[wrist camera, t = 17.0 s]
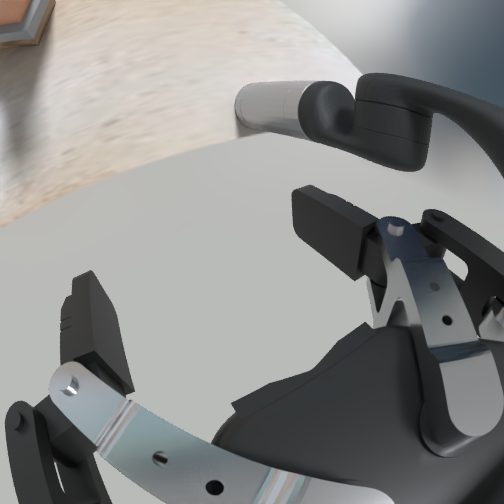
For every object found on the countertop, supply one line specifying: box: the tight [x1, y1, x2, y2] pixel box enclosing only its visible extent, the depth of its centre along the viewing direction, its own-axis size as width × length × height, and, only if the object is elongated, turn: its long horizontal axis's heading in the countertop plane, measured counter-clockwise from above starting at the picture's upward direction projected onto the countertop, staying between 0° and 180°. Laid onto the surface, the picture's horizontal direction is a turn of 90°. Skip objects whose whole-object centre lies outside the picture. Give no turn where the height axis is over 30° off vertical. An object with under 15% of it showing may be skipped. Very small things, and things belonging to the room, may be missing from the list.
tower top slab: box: [0, 0, 50, 42], centre depth 12 cm, size 8×8×4 cm
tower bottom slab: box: [0, 0, 56, 49], centre depth 15 cm, size 8×8×4 cm
